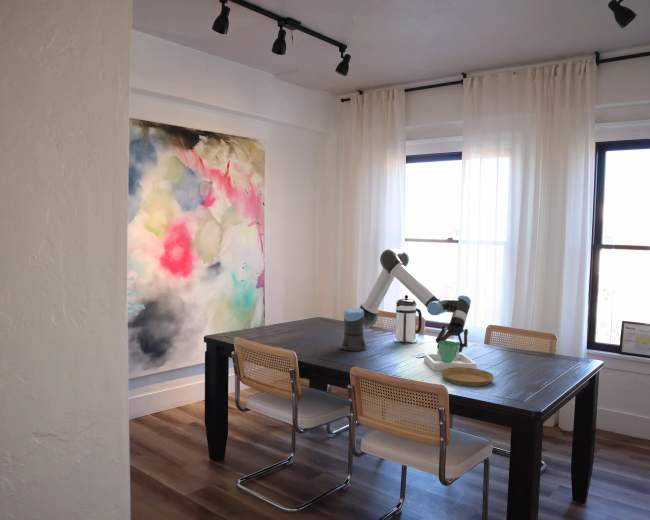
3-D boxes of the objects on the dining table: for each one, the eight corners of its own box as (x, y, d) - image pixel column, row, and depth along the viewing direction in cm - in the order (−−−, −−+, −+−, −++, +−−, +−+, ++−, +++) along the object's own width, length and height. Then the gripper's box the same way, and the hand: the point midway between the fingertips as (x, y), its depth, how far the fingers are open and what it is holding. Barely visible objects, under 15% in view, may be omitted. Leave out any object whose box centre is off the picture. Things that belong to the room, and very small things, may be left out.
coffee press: (417, 345, 323) (418, 297, 322) (391, 343, 328) (392, 295, 327) (421, 340, 340) (422, 294, 338) (396, 338, 345) (397, 292, 343)
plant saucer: (502, 388, 238) (502, 380, 238) (450, 388, 236) (450, 381, 236) (482, 373, 262) (482, 367, 262) (434, 374, 260) (434, 367, 260)
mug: (448, 365, 266) (450, 346, 265) (433, 360, 274) (434, 342, 273) (466, 361, 275) (467, 343, 274) (450, 356, 283) (452, 338, 282)
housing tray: (434, 371, 264) (434, 363, 263) (424, 360, 285) (424, 353, 285) (476, 371, 265) (476, 363, 264) (462, 361, 286) (463, 353, 286)
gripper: (479, 327, 281) (469, 362, 268) (440, 322, 293) (428, 356, 280) (477, 318, 276) (466, 354, 264) (437, 314, 288) (425, 348, 275)
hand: (447, 355), depth 272 cm, fingers closed on mug, 9 cm apart
